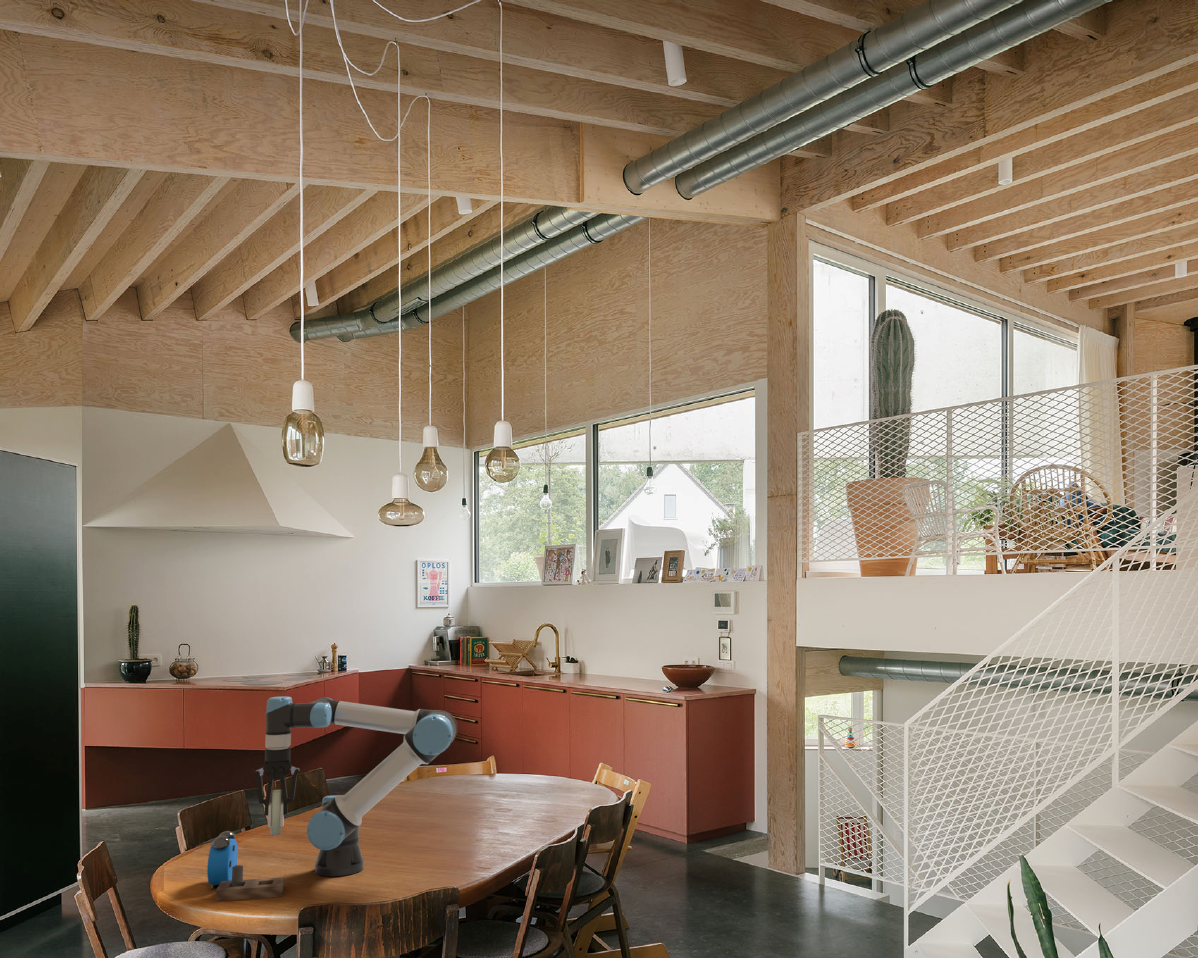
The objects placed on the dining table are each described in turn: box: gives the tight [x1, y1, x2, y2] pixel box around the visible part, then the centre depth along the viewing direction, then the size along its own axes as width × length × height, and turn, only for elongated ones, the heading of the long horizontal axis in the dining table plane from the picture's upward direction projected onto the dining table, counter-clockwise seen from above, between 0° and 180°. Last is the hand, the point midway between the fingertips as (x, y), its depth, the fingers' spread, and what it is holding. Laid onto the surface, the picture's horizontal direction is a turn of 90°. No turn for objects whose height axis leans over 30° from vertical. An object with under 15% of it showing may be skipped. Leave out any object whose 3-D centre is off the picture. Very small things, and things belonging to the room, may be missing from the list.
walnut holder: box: [215, 864, 286, 902], centre depth 281 cm, size 18×9×8 cm, turn 102°
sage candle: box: [270, 789, 283, 837], centre depth 294 cm, size 3×3×13 cm
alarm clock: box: [206, 830, 239, 889], centre depth 291 cm, size 13×6×15 cm, turn 8°
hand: (275, 825), depth 293 cm, fingers closed on sage candle, 3 cm apart
